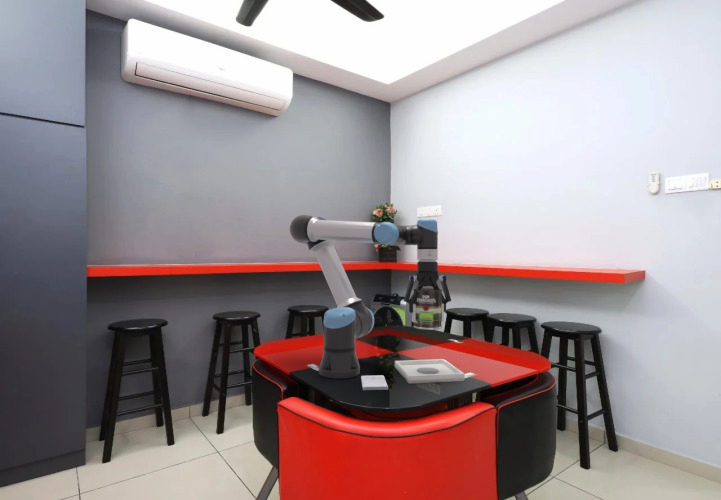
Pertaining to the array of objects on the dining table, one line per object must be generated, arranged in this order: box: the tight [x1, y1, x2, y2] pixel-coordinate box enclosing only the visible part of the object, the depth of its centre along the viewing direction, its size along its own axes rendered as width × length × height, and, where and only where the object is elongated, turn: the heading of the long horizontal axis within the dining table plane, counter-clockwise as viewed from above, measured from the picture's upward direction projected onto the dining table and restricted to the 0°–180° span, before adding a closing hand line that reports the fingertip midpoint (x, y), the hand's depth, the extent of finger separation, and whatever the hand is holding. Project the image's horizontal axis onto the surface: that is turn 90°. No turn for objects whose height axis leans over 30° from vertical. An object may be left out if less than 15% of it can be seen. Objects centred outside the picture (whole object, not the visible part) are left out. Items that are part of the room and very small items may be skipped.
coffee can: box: [413, 287, 443, 331], centre depth 145 cm, size 10×10×14 cm
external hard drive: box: [360, 374, 389, 391], centre depth 133 cm, size 2×8×12 cm
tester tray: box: [394, 358, 466, 384], centre depth 145 cm, size 20×20×2 cm
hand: (427, 321), depth 145 cm, fingers closed on coffee can, 10 cm apart
